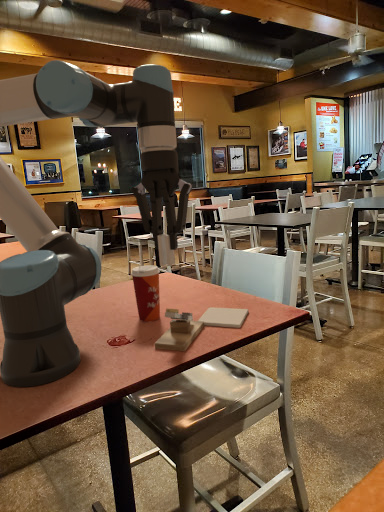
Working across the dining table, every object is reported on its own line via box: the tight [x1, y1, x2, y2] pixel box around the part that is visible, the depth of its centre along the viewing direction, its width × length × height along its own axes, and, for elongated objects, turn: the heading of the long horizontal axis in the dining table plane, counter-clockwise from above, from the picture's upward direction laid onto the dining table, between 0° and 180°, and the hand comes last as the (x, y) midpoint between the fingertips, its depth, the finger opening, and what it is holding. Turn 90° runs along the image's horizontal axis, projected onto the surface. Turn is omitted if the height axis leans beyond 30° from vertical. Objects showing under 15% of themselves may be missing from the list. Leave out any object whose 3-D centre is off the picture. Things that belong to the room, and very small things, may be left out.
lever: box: [164, 308, 194, 321], centre depth 85 cm, size 12×4×2 cm, turn 161°
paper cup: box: [130, 264, 161, 323], centre depth 98 cm, size 8×8×14 cm
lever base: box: [154, 319, 205, 352], centre depth 85 cm, size 14×7×4 cm, turn 161°
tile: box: [197, 306, 249, 329], centre depth 95 cm, size 11×11×1 cm
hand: (167, 264), depth 78 cm, fingers closed
